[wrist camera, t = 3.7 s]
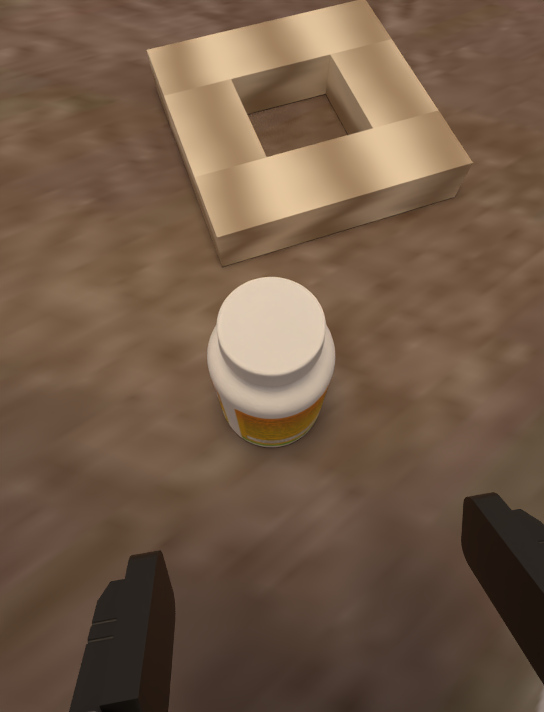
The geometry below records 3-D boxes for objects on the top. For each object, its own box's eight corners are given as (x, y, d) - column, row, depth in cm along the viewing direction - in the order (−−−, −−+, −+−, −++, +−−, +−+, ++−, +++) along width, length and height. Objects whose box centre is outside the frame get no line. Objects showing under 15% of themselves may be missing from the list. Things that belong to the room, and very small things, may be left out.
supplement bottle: (340, 400, 26) (377, 323, 17) (271, 470, 25) (271, 427, 16) (271, 336, 27) (271, 234, 18) (201, 399, 26) (165, 323, 17)
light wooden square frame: (222, 266, 29) (216, 237, 26) (156, 89, 35) (146, 50, 32) (454, 196, 31) (472, 162, 28) (357, 40, 37) (364, -2, 34)
